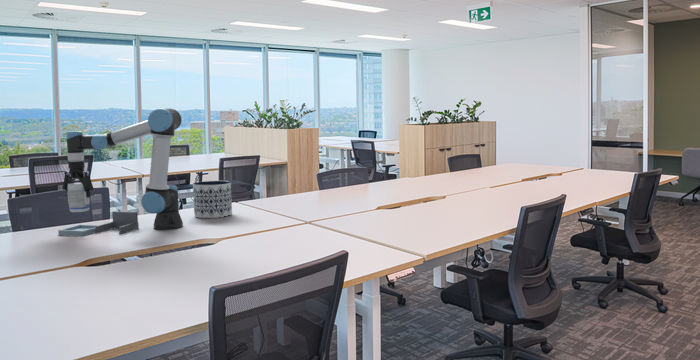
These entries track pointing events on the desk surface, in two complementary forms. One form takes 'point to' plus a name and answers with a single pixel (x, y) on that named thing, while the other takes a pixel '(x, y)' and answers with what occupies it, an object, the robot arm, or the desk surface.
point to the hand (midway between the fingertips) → (79, 203)
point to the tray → (78, 230)
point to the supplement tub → (77, 198)
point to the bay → (121, 222)
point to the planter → (212, 199)
